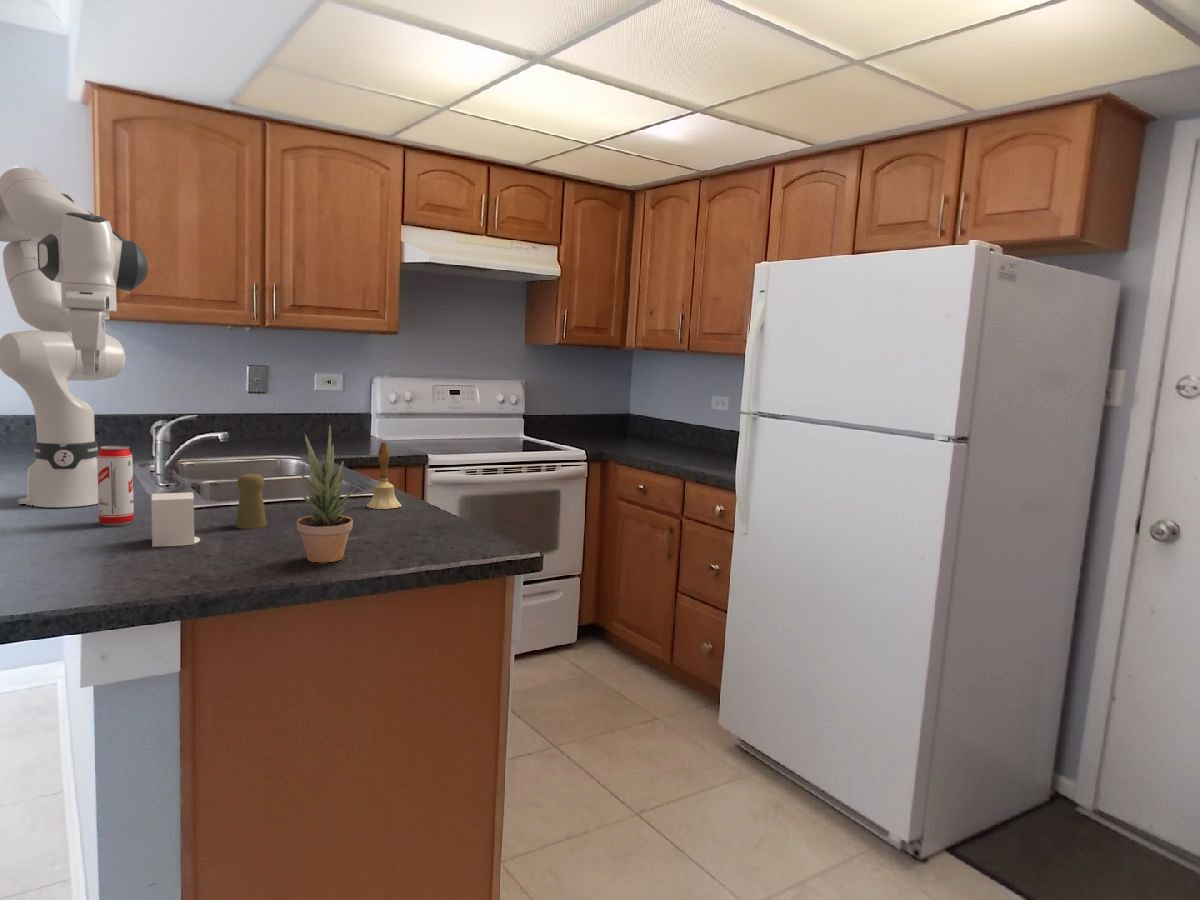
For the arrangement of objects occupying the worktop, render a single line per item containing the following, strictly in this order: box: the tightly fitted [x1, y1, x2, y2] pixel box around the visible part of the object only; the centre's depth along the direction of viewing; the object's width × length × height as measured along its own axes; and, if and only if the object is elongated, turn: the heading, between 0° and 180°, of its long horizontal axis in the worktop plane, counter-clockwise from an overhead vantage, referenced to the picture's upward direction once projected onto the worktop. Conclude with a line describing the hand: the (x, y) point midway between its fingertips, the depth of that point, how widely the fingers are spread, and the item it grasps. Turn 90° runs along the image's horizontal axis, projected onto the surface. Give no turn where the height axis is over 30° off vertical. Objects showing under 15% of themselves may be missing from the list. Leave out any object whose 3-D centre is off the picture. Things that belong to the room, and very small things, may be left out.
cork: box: [235, 473, 267, 530], centre depth 170 cm, size 6×6×11 cm
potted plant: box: [296, 424, 356, 563], centre depth 145 cm, size 10×10×25 cm
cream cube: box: [151, 491, 195, 548], centre depth 154 cm, size 7×7×9 cm
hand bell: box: [366, 441, 402, 509], centre depth 197 cm, size 8×8×16 cm
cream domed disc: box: [163, 536, 201, 547], centre depth 155 cm, size 8×8×1 cm
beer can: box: [96, 445, 135, 527], centre depth 166 cm, size 6×6×16 cm
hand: (91, 374), depth 154 cm, fingers open, 8 cm apart
